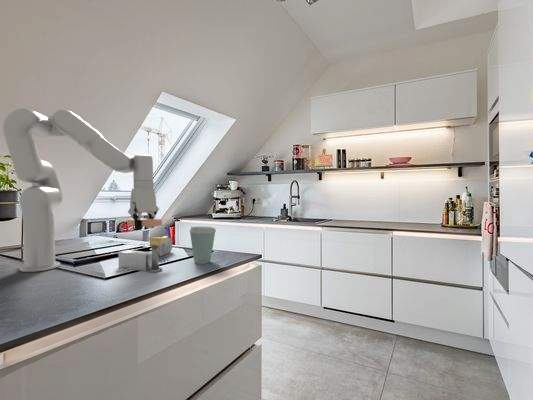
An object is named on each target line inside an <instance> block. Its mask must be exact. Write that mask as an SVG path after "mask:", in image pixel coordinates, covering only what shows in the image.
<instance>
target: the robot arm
mask: <svg viewBox="0 0 533 400" xmlns="http://www.w3.org/2000/svg"><path fill="white" fill-rule="evenodd" d="M2 132H3V133H2V134H3V136H4V140H5V143H6V145H7V149H8V151H9V156H10V159H11V162H12V166H13V169H14V172H15V173H14V174H15V175H16V177H17V179H19V180H20V181H21V182H23V183H28V184H31V186H29V187H27V188H25V189H24V190H23V191H22V192H21V193H20V196H19V206H20V210H21V214H22V225H23V226H22V227H23V254H24V255H23V258H22V260H21V261H23V262H24V264H23V265H20V266H19V268H18V269H19V271H20V272H23V273H35V272H42V271H43V272H44V271H49V270H52V269H56V268H58V267H60V266H61V262H60V261H57V260H56V244H55V243H56V237H55V235H56V234H55V219H54V214H53V210H52V209H56V208H57V207H59V206H60V205H61V204H62V202H63V192H62V190H61V186H60V183H59V179H58V175H57V172H56V170H55V168H54V166H53V165H52V164H51V163H50V162H48V161H46V160H43V159H41V157H40V154H39V150H38V147H37V144H36V142H35V140H34V138H33V136H32V135H34V136H37V137H42V138H50V137H51V138H52V137H68V138H69V139H70V140H71V141H73V142H75V143H76V144H77V145H78V146H79V147H82V148H83V149H84V150H85V151H87V153H90V154H91V155H92V156H93V157H95V159H98V160H99V161H100V162H101V163H103V164H104V165H106V167H108V168H110V169H111V170H113V171H115V172H116V173H117V172H119V173H122V174H127V173H129V174H130V173H133V175H132V177H133V188H131V192H130V199H129V200H130V202H129V203H130V204H129V209H128V210H127V213H128V214H129V215H130V217H132V218H131V219H133V220H135V226H134V230H136V231H141V230H142V229H143V228H142V221H141V220H140V218H142V215H143V213H144V214H145V213H146V215H147V218H146V219H156V215H157V213H158V212H159V210H160V208H159V207H158V206H157V197H156V196H157V195H156V192H155V188H154V185H155V183H154V164H153V163H154V162H153V161H154V160H153V156H152V155H151V154H145V153H144V154H142V153H141V154H140V153H139V154H134V155H129V154H126V153H124V152H123V151H122V150H120V149H118V147H116V146H114V145H113V144H112V143H111V142H109V141H108V140H107V139H106V138H105V137H104V136H103V135H102V133H100V131H98V130H97V129H95V128H94V127H92V126H91V125H90V124H89V123H88V122H86V121H85V120H83V119H82V118H81V117H80V116H79V115H77V114H76V113H74V112H72V111H70V110H68V109H64V108H63V109H58V110H56V111H55V112H53V113H52V115H44V114H42V113H40V112H37V111H35V110H33V109H30V108H25V107H22V108H17V109H14V110H13V111H11V112H9V114H7V116H6V117H5V119H4V120H3V124H2ZM147 228H148V229H149V228H150V229H152V228H155V227H147Z"/></svg>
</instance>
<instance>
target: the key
mask: <svg viewBox="0 0 533 400" xmlns="http://www.w3.org/2000/svg"><path fill="white" fill-rule="evenodd" d="M163 236H164V237H163ZM163 236H160V237H157V236H156V237H155V236H154V237H152V236H149V237H148V241H149V246H150V247H152V246H160V244H163V243H165V242H168V236H169V235H168V236H167V235H163Z"/></svg>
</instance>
